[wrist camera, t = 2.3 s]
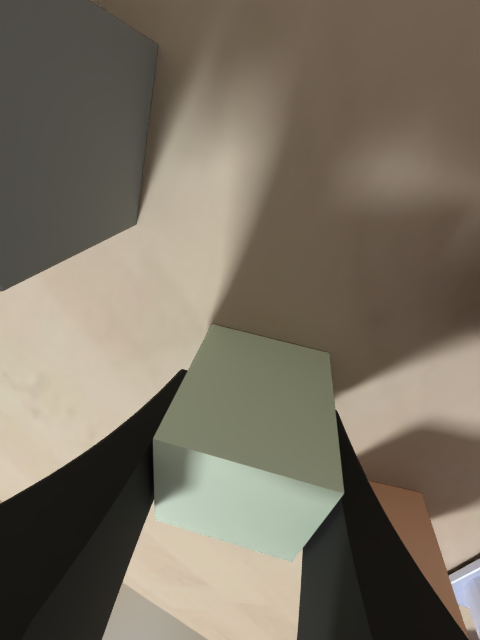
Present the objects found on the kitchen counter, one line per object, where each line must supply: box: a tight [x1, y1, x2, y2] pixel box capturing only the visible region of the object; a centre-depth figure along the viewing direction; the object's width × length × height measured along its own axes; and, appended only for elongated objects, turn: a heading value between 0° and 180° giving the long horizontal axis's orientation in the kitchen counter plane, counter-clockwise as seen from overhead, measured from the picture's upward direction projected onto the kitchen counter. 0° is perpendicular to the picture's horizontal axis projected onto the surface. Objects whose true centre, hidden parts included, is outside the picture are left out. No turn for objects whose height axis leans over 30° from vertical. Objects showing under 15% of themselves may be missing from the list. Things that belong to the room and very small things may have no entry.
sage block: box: [153, 324, 344, 562], centre depth 10 cm, size 4×4×5 cm
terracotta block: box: [369, 481, 469, 639], centre depth 13 cm, size 4×4×5 cm
